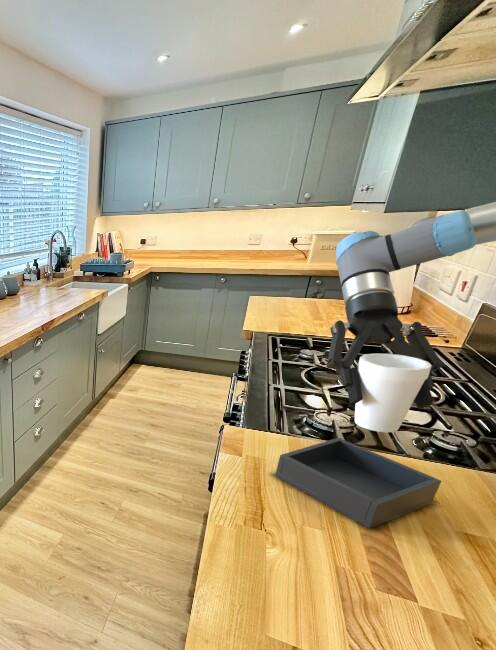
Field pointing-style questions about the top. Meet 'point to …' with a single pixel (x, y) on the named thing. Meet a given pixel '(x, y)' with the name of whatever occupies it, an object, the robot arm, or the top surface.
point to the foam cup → (388, 389)
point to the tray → (357, 481)
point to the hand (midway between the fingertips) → (390, 403)
